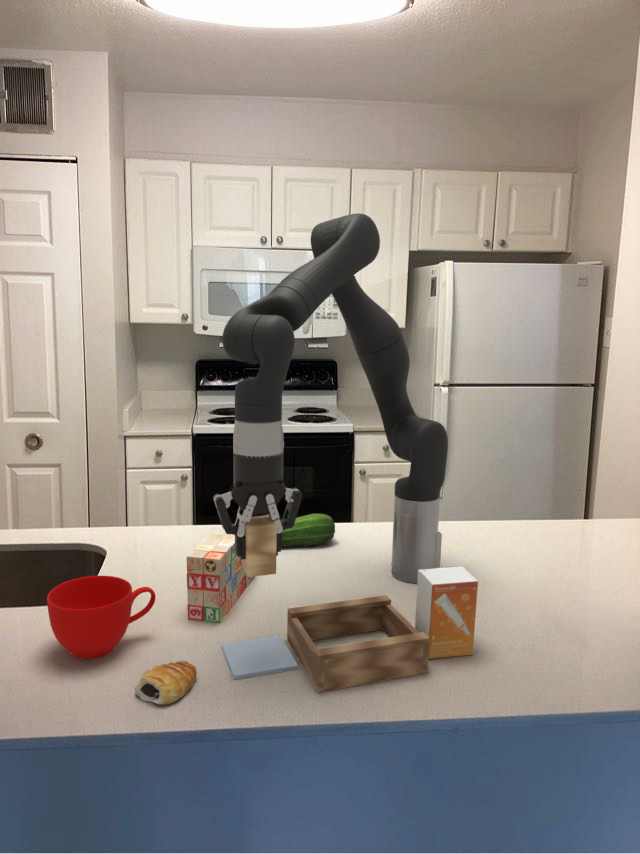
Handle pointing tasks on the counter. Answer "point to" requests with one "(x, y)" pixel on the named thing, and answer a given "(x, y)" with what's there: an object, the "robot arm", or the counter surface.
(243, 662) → the pad
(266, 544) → the block
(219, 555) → the stack of blocks
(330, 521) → the vegetable
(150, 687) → the pastry
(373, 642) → the crate
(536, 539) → the counter surface
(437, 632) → the small box
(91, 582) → the ceramic cup
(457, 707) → the counter surface
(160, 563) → the counter surface
